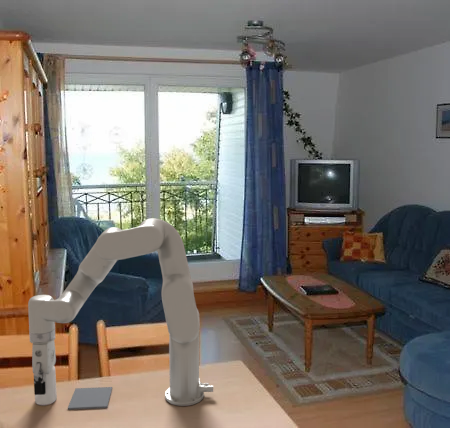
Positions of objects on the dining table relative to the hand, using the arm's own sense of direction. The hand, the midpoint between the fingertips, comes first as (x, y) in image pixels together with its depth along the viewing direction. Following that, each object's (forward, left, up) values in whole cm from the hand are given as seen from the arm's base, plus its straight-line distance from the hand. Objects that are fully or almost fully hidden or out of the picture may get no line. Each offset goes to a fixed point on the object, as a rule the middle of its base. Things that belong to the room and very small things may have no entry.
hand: (44, 386), depth 154 cm
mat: (-14, 0, -5) cm, 15 cm away
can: (0, 0, -5) cm, 5 cm away
